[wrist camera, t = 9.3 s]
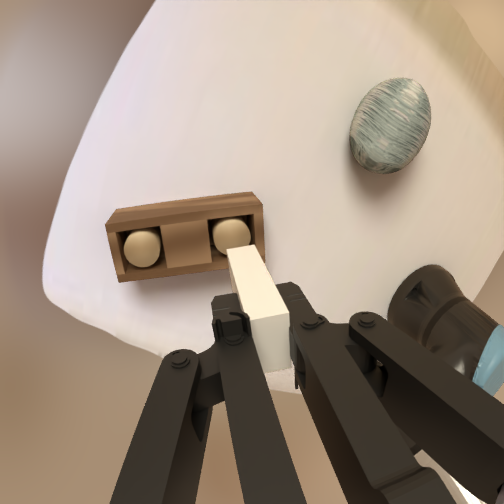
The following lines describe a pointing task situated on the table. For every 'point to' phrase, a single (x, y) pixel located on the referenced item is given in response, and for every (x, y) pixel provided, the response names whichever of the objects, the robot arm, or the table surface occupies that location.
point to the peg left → (143, 246)
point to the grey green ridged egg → (390, 125)
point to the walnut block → (183, 234)
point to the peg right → (230, 233)
